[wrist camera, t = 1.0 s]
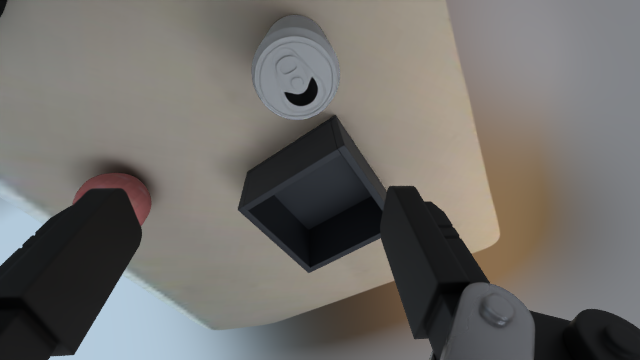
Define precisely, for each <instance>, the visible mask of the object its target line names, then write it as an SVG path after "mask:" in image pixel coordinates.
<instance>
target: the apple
mask: <svg viewBox="0 0 640 360" xmlns="http://www.w3.org/2000/svg"><path fill="white" fill-rule="evenodd" d="M92 188H122V189H124V190H125V191H126V193H127V195H128V197H129V199H130V202H131V204H132V206H133V209H134V211H135V213H136V216H137V218H138V221H139V223H140V225H142V224H143V223H144V221H145V219H146V218H147V216H148V215H149V212H150V209H151V198H150V194H149V192H148V190H147V188H146V187H145V185H144V184H143V183H142V182H141V181H140V180H139V179H137V178H135V177H133V176H131V175H127V174H123V173H108V174H101V175H98V176H96V177H93V178H91V179H89V180H88V181H86V182H85V183H84V184H83V185H82V187H81V188H80V189H79V190H78V191H77V193H76V195H75V198H74V200H73V204H74V203H75V202H76V201H77V200H78V199H80V198H81V197H82V196H83V195H84V194H85V193H86V192H87V191H88V190H89V189H92Z"/></svg>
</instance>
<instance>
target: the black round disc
mask: <svg viewBox="0 0 640 360" xmlns="http://www.w3.org/2000/svg"><path fill="white" fill-rule="evenodd" d="M6 2H7V0H0V17H1V15H2V13H3V11H4V8H5V6H6Z"/></svg>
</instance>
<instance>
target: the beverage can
mask: <svg viewBox="0 0 640 360" xmlns="http://www.w3.org/2000/svg"><path fill="white" fill-rule="evenodd" d="M339 80H340V68H339V62H338V59H337V56H336V54H335V52H334V50H333V48H332V47H331V45H330V43H329V41H328V40H327V38H326V36H325V34H324V33H323V31H322V29H321V28H320V27H319V26H318V25H317V24H316V23H315V22H314V21H313V20H311V19H309V18H307V17H305V16H301V15H289V16H285V17H283V18H281V19H279V20H278V21H276V22H275V23H274V24H273V25H272V26H271V28H270V29H269V31H268V33H267V34H266V36H265V37H264V39H263V41H262V42H261V44H260V45H259V47H258V49H257V51H256V53H255V55H254V58H253V62H252V81H253V85H254V88H255V90H256V92H257V94H258V96H259V98H260V99H261V101H262V102H263V103H264V104H265V105H266V107H267V108H269V109H270V110H271V111H272V112H273V113H275V114H277V115H278V116H281V117H283V118H286V119H291V120H303V119H307V118H311V117H313V116H315V115H317V114H319V113H320V112H321V111H323V110H324V109H325V108H326V107H327V105H328V104H329V103H330V102H331V101H332V99H333V98H334V96H335V94H336V92H337V89H338V86H339Z"/></svg>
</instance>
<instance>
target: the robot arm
mask: <svg viewBox="0 0 640 360" xmlns="http://www.w3.org/2000/svg"><path fill="white" fill-rule="evenodd" d="M380 234H381V240H382V243H383V246H384V249H385V252H386V255H387V258H388V261H389V264H390V267H391V270H392V273H393V276H394V279H395V282H396V285H397V289H398V291H399V295H400V297H401V301H402V303H403V307H404V309H405V313H406V316H407V319H408V321H409V325H410V328H411V331H412V334H413V337H414V339H426V338H429V341H430V344H431V346H432V349H433V351H432V353H431V355H430V359H429V360H640V329H639V328H637V327H636V326H634V325H633V324H631V323H630V322H628V321H627V320H625V319H623V318H621V317H619V316H617V315H614V314H612V313H609V312H606V311H602V310H598V309H587V310H584V311H582V312H580V313H579V314H578V315H577V316H576V317H575V318H574V319H573V320H572V321H568V320H565V319H561V318H557V317H553V316H549V315H545V314H541V313H537V312H533V311H530V310H528V309H527V307H526V306H525V305H524V304H523V303H522V302H521V301H520V300H519V299H518V298H517V297H516V296H514V295H513V294H512V293H510V292H509V291H507V290H505V289H503V288H501V287H499V286H496V285H493V284H490V282H489V281H488V279H487V278H486V276H485V275H484V273H483V271H482V270H481V268H480V267H479V266H478V264H477V262H476V261H475V259H474V258H473V256H472V254H471V253H470V251H469V250H468V248H467V247H466V245H465V244H464V242H463V241H462V239H460V238H459V234H458V233H457V231H456V230H455V228H453V227H452V224H451V222H450V220H449V219H448V217H447V216H446V214H445V213H444V212H443V211H442V210H441V209H440V208H438V207H437V206H436V205H435V204H433V203H432V202H424V201H423V199H422V197H421V196H420V194H419V192H418V191H417V189H416V188H415V187H414V186H390V187H389V188H388V190H387V194H386V199H385V204H384V208H383V213H382V218H381V224H380ZM141 238H142V229H141V225H140V223H139V221H138V218H137V216H136V213H135V211H134V209H133V206H132V204H131V202H130V199H129V197H128V195H127V193H126V191H125V190H124V189H122V188H92V189H89V190H88V191H87V192H86V193H85V194H84V195H83V196H82V197H81V198H80V199H78V200H77V201H76V202H75V203H74V204H73V205H72V206H70V207H68V208H66V209H65V210H63V211H61V212H60V213H58V214H56V215H55V216H53V217H51V218H50V219H49V220H48V221H47V222H46V223H45V224H44V225H43V226H42V227H41V228H40V229H39V230H38V231H36V234H35V236H31V237H30V238H29V239H28V240H27V241H26V242H25V243H24V244H23V247H22V248H19V249H18V250H17V251H15V253H13V254H12V255H11V256H10V257H9V258H8V259H7V260H6V261H5V262H4V263H3V264H2V265H1V266H0V360H48V359H49V358H50V356H65V355H74V354H75V352H76V351H77V349H78V347H79V346H80V344H81V342H82V341H83V339H84V337H85V336H86V334H87V332H88V331H89V329H90V327H91V326H92V324H93V322H94V321H95V319H96V317H97V316H98V314H99V312H100V311H101V309H102V307H103V306H104V304H105V302H106V301H107V299H108V297H109V295H110V294H111V292H112V290H113V289H114V287H115V285H116V283H117V282H118V280H119V279H120V277H121V275H122V274H123V272H124V270H125V269H126V267H127V265H128V264H129V262H130V260H131V259H132V257H133V255H134V254H135V252H136V250H137V249H138V247H139V245H140V242H141Z"/></svg>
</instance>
